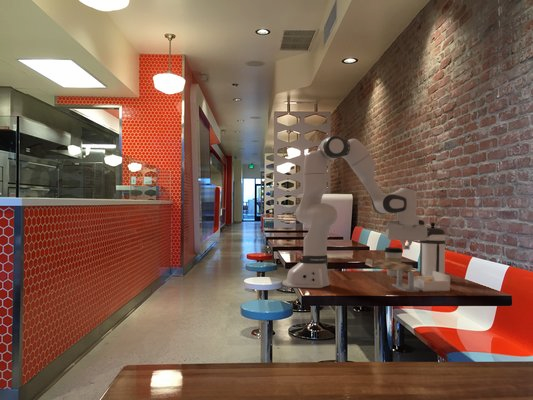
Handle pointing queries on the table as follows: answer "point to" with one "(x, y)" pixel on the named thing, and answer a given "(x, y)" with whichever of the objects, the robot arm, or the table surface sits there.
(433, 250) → the coffee press
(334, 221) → the robot arm
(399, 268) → the lever ramp
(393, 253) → the coffee cup
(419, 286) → the dish
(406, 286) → the lever stand
